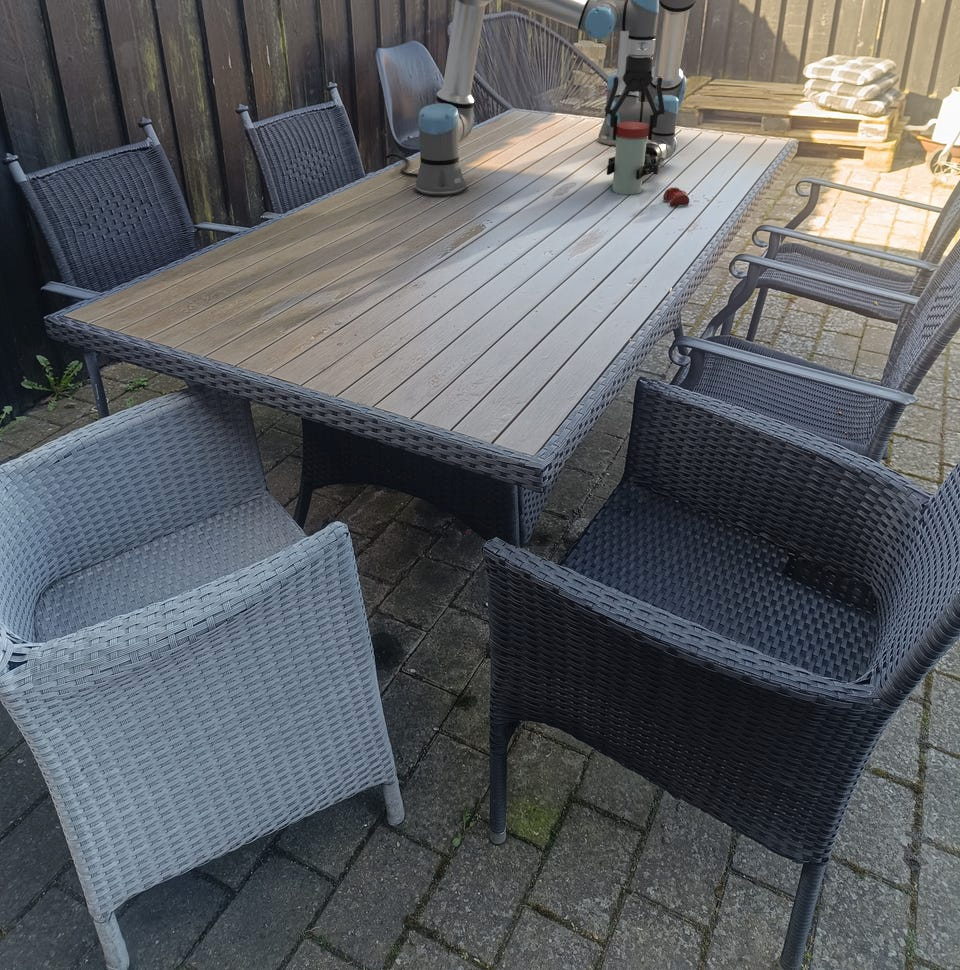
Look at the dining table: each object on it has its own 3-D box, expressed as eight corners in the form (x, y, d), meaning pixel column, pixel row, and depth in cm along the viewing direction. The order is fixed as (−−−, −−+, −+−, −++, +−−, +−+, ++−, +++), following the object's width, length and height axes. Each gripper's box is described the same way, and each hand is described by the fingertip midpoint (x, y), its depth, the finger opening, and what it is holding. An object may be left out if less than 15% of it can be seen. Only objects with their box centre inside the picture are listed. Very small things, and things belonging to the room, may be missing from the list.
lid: (623, 128, 254) (623, 120, 253) (654, 132, 250) (655, 124, 249) (610, 135, 247) (610, 127, 246) (641, 139, 243) (642, 131, 242)
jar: (646, 190, 258) (653, 128, 248) (630, 196, 253) (636, 133, 243) (623, 184, 263) (629, 123, 253) (606, 190, 258) (611, 128, 248)
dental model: (680, 183, 249) (692, 191, 242) (678, 197, 251) (690, 206, 245) (662, 185, 248) (674, 193, 241) (661, 199, 250) (672, 208, 244)
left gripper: (600, 57, 234) (594, 141, 247) (682, 58, 233) (671, 142, 246) (599, 53, 240) (593, 135, 253) (678, 53, 239) (668, 136, 252)
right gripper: (681, 172, 265) (655, 190, 249) (617, 162, 274) (588, 180, 258) (684, 147, 260) (658, 164, 245) (620, 138, 269) (590, 154, 253)
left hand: (631, 139), depth 249 cm, fingers closed on lid, 10 cm apart
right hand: (622, 172), depth 251 cm, fingers closed on jar, 9 cm apart
